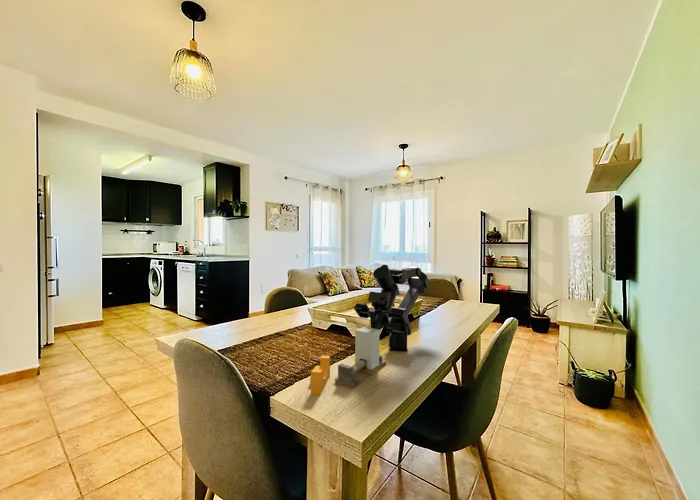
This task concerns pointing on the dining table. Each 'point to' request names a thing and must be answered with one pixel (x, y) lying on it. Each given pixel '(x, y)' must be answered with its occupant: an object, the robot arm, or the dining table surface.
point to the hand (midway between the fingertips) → (371, 334)
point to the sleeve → (367, 346)
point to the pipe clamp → (320, 376)
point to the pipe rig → (356, 373)
